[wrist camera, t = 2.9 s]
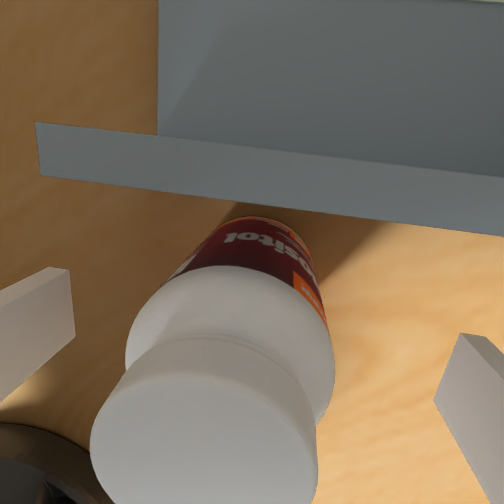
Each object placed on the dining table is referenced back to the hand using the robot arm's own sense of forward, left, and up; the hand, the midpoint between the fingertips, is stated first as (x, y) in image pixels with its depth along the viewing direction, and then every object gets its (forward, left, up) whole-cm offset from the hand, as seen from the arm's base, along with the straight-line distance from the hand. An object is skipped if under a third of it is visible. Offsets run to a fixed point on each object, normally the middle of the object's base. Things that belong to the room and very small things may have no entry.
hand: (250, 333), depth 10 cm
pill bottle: (0, 0, -7) cm, 7 cm away
